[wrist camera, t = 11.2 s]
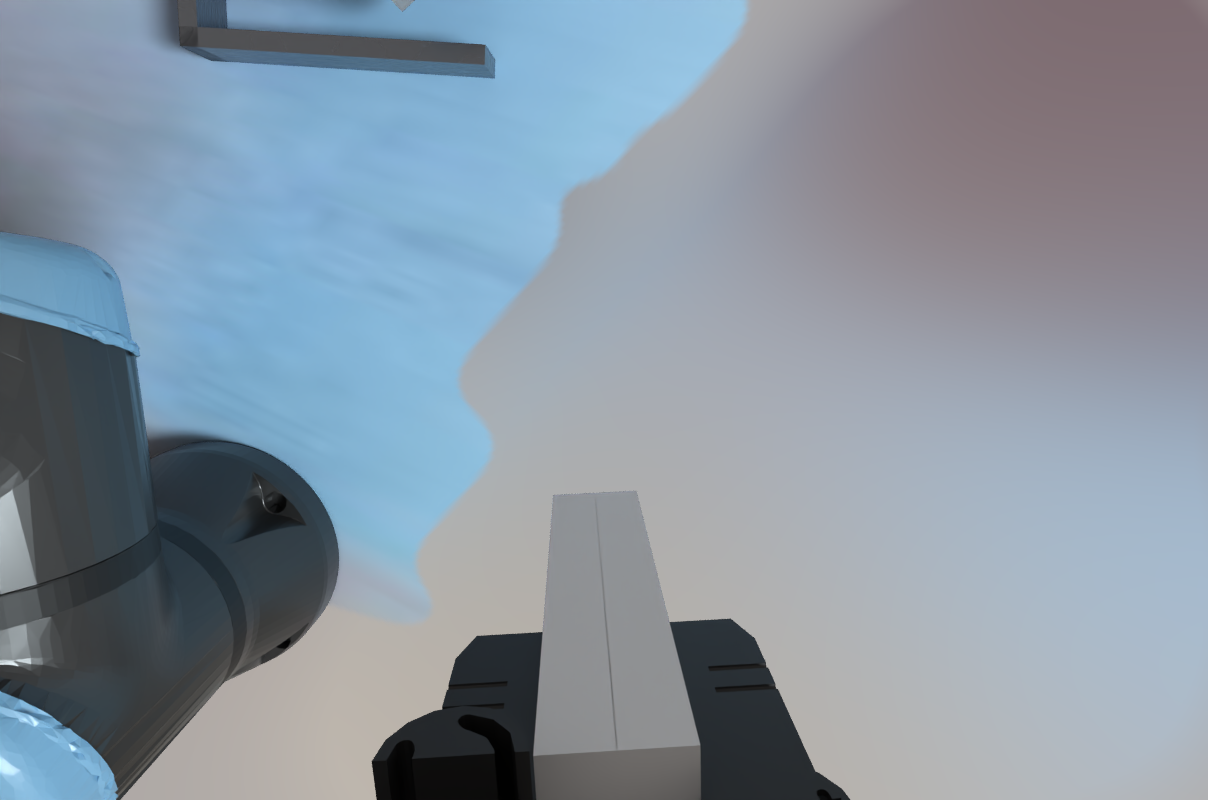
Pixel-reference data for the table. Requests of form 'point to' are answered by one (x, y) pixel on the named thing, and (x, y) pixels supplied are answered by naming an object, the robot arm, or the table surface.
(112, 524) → the robot arm
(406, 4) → the circuit breaker
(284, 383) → the table surface
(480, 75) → the lockout stall
